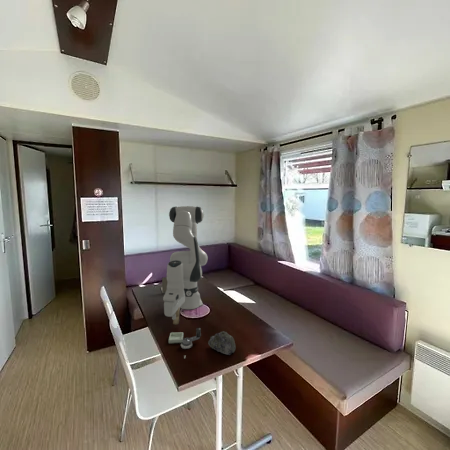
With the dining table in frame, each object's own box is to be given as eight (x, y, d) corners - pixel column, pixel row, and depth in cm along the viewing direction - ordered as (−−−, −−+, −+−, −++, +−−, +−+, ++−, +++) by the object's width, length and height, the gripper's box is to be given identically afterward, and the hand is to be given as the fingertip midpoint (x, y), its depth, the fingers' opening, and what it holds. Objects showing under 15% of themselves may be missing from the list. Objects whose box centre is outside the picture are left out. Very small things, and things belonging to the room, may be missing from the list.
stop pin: (173, 321, 138) (174, 305, 137) (179, 321, 138) (179, 305, 137) (172, 324, 135) (173, 308, 134) (178, 324, 135) (179, 308, 134)
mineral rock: (207, 346, 132) (207, 327, 131) (224, 340, 138) (224, 322, 137) (219, 359, 121) (219, 339, 120) (238, 352, 127) (238, 333, 126)
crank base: (181, 342, 135) (181, 340, 135) (192, 342, 136) (192, 340, 135) (178, 358, 122) (178, 356, 122) (191, 358, 122) (190, 356, 122)
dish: (170, 336, 141) (170, 332, 141) (183, 335, 142) (183, 332, 141) (168, 343, 134) (168, 339, 134) (182, 342, 135) (182, 339, 135)
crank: (184, 346, 129) (184, 335, 129) (180, 342, 133) (180, 332, 132) (202, 340, 135) (202, 330, 134) (198, 336, 139) (198, 326, 138)
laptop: (182, 285, 221) (181, 271, 219) (184, 290, 209) (184, 275, 208) (160, 288, 215) (160, 273, 213) (162, 293, 203) (162, 277, 201)
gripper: (177, 284, 146) (177, 308, 147) (161, 298, 126) (162, 325, 127) (187, 285, 144) (188, 309, 146) (173, 299, 124) (174, 326, 126)
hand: (175, 317), depth 136 cm, fingers closed on stop pin, 3 cm apart
